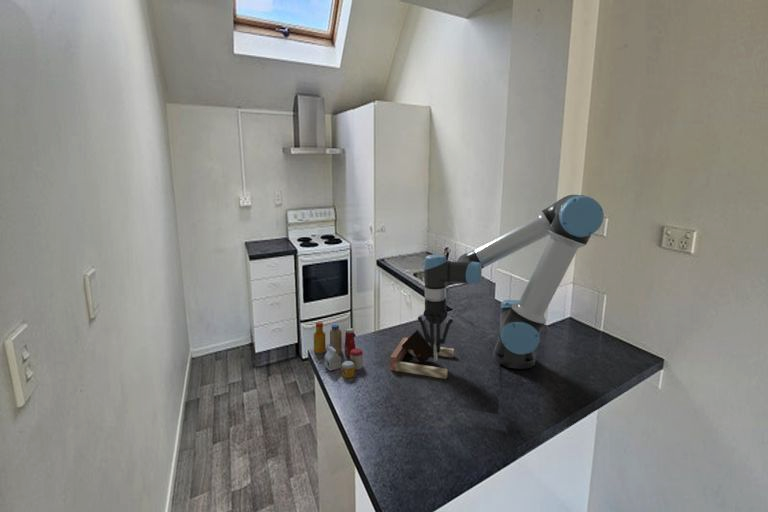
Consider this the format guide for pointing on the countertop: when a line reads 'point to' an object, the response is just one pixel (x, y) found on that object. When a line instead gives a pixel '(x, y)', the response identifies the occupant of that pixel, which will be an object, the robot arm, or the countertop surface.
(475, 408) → the countertop surface
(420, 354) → the dark brown cup
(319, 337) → the toy food set
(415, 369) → the u-shaped wooden frame
